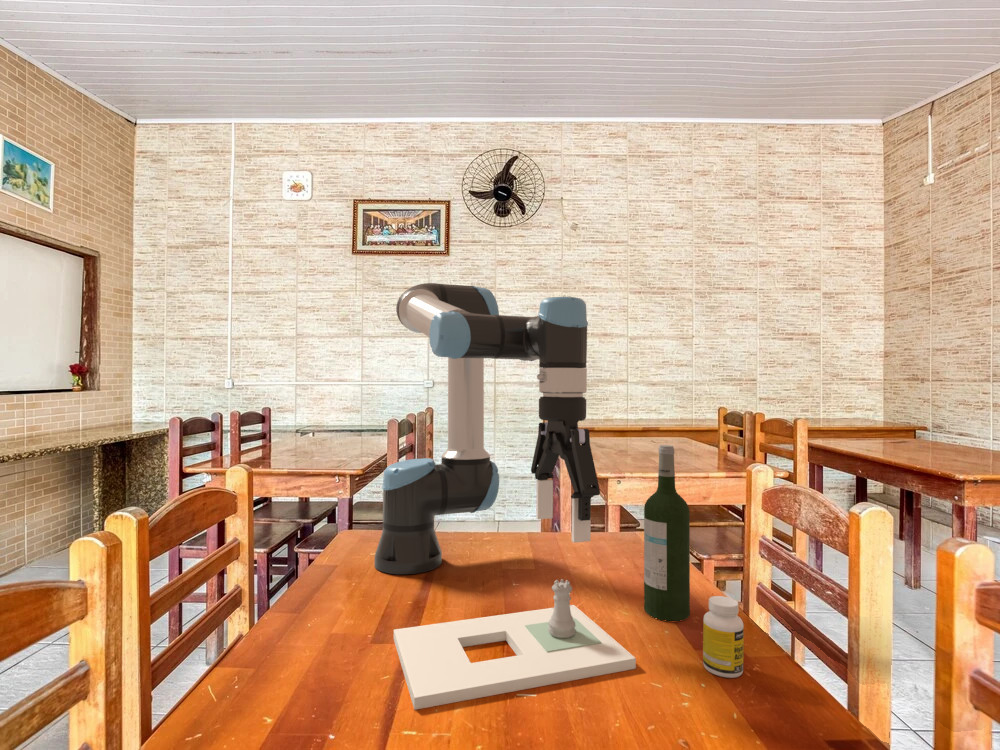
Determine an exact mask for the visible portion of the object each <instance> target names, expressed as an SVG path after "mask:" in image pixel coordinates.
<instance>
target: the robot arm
mask: <svg viewBox="0 0 1000 750" xmlns="http://www.w3.org/2000/svg"><path fill="white" fill-rule="evenodd" d="M395 309H396V312H395V313H396V315H397V319H398V320H399V322H400V323H401V325H402V326H404V327H405V328H406V329H407V330H409V331H411V332H414V333H417V334H423V335H425V336H427V337H428V338H429V345H430V347H431V351H432V353H433V355H435V356H436V357H440V358H447V449H446V451H444V452H443V453H442V454H441V463H440V464H439V463H438V464H437V463H436V462H435V459H433V458H429V457H423V458H422V457H421V458H413V459H412V458H411V459H406V460H401V461H398V462H394V463H392V464H390V465H388V466H387V467H386V468H385V469H384V472H383V481H382V486H381V489H382V531H381V536H380V538H379V542H378V544H377V547H376V550H375V554H374V568H375V569H376V570H377V571H379V572H382V573H386V574H390V575H414V574H421V573H427V572H429V571H433V570H435V569H437V568H438V567H440V566H441V564H442V563H443V562H442V560H443V558H442V554H443V553H442V549H441V545H440V543H439V540H438V537H437V534H436V530H435V516H440V515H441V516H442V515H443V516H444V515H455V514H462V513H466V514H467V513H470V514H472V513H473V514H474V513H476V512H481V511H487V510H490V508H492V506H493V505H494V503H495V502H496V500H497V497H498V493H499V489H500V474H499V469H498V466H497V464H496V463H495V462H494V461H491V455H490V453H489V452H488V451H487V450H486V449H485V447H484V446H485V437H484V436H485V434H484V433H485V432H484V431H485V430H484V428H485V426H484V424H485V421H484V419H485V417H484V416H485V415H484V412H485V411H484V409H485V406H484V404H485V402H484V401H485V399H484V397H485V396H484V395H485V392H484V391H485V390H484V388H485V384H484V383H485V382H484V380H485V378H484V377H485V376H484V375H485V374H484V371H485V370H484V369H485V367H484V366H485V364H484V362H485V361H484V359H491V360H492V359H493V360H495V359H496V360H519V361H525V362H526V361H529V362H534V361H537V360H539V362H538V363H539V365H538V368H539V373H538V374H537V375H536V379H537V380H538V381H539V383H538V385H539V386H538V387H539V392H540V393H541V394H542V396H540V397H539V398H538V418H539V419H540V420H542V421H547V422H539V423H538V431H537V432H538V433H537V438H536V439H537V440H536V444H535V447H534V454H533V458H532V463H531V468H530V472H531V474H534V477H535V480H536V502H535V503H536V510H535V511H536V513H535V514H536V516H535V517H536V518H535V519H536V520H546V519H548V520H549V519H553V518H554V517H553V516H554V513H553V512H554V509H553V507H554V505H553V504H554V502H553V501H554V480H553V479H554V478H555V476H554V473H553V472H554V469H555V467H556V465H557V463H558V460H559V458H561V459H562V461H564V464H565V467H566V470H567V472H568V477H569V479H570V480H569V481H570V483H571V487H572V489H573V493H572V494H571V495H570V497H571V542H572V543H585V542H591V541H592V540H591V534H592V533H591V532H592V531H591V527H592V526H591V520H592V518H591V517H592V516H591V515H592V514H591V513H592V512H591V511H592V510H591V509H592V506H591V505H592V498H593V497H594V496H599V495H600V494H601V490H600V485H599V480H598V476H597V471H596V466H595V461H594V457H593V452H592V448H591V440H590V430H589V429H588V428H579V425H578V423H579V422H582V421H585V420H586V419H587V399H586V397H584V394H586V393H587V382H588V381H587V378H588V375H587V371H588V370H587V369H588V368H587V357H588V356H587V355H588V354H587V353H588V351H587V350H588V348H587V347H588V326H589V322H588V319H587V318H588V316H587V315H588V314H587V304H586V302H585V300H584V299H582V298H580V297H579V298H578V297H574V296H553V297H552V296H551V297H546V298H544V299H543V298H542V300H541V301H540V303H539V310H538V315H537V316H523V315H521V316H520V315H505V314H504V315H503V314H500V312H499V305H498V301H497V299H496V296H495V295H494V293H493V292H492V290H490V289H489V288H486V287H480V286H475V285H466V284H465V285H462V284H461V285H460V284H449V283H448V284H446V283H436V282H435V283H434V282H433V283H432V282H426V283H420V284H415V285H414V286H411V287H409V288H408V289H406V290H405V291H403V292H402V293H401V294H400V296H399V297H398V300H397V303H396V308H395Z"/></svg>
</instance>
